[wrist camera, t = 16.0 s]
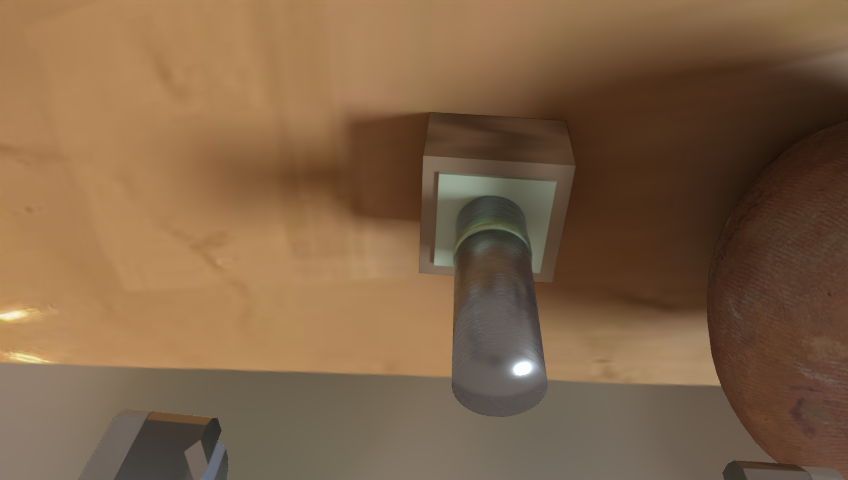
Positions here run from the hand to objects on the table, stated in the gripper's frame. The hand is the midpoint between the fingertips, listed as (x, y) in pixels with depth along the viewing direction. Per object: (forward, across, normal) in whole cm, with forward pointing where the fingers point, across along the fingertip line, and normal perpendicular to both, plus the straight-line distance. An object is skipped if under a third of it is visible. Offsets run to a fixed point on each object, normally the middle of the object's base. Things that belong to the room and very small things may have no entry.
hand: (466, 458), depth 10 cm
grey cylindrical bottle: (+27, -2, +14) cm, 30 cm away
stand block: (+33, -2, +14) cm, 36 cm away
